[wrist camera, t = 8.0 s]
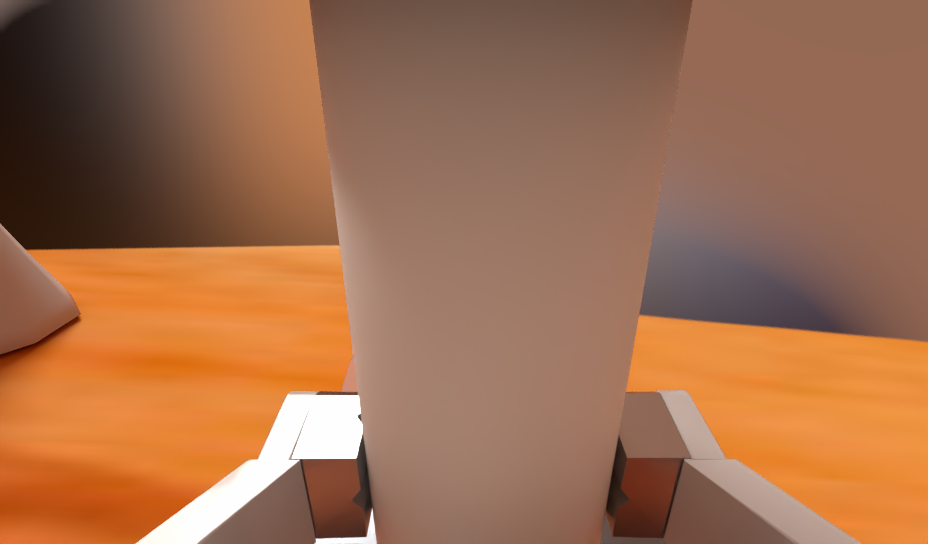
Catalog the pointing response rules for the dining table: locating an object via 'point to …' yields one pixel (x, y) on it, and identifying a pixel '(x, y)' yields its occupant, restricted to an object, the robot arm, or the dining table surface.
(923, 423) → the dining table surface
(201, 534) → the robot arm
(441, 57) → the peg
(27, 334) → the flask
